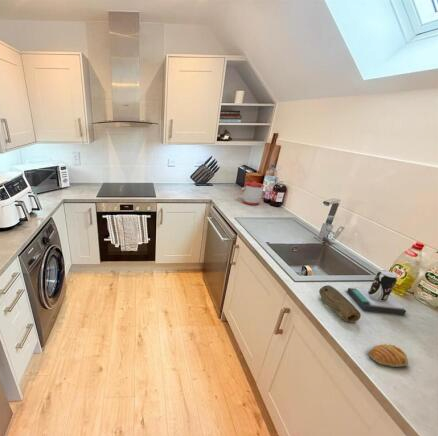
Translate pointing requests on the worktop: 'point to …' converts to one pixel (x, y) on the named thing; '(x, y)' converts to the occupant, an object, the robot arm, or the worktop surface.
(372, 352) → the pastry
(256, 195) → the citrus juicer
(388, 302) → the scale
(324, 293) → the brown rough cylinder
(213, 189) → the worktop surface
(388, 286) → the beverage can
